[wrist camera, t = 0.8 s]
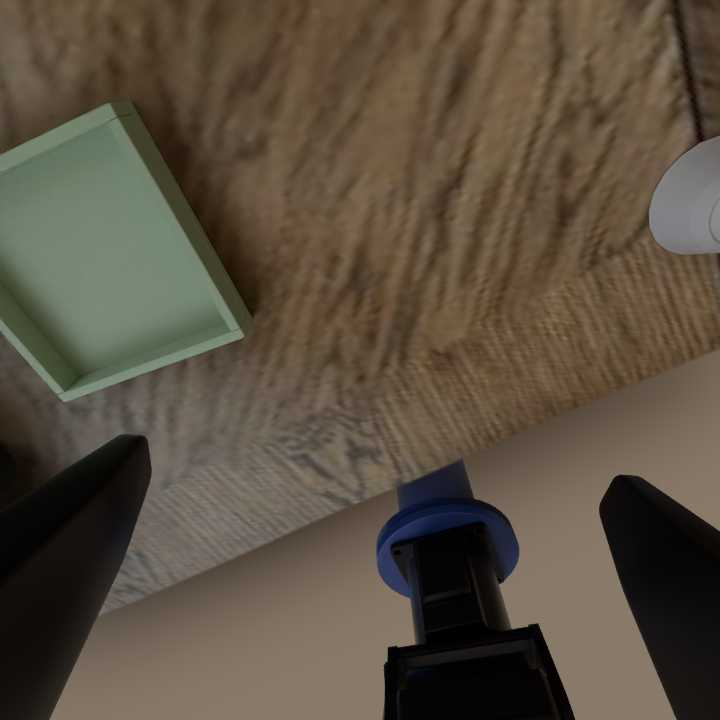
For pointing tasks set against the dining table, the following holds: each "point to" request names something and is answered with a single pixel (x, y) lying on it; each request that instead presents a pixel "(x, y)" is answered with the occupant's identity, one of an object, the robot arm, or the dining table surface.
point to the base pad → (105, 257)
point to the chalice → (689, 202)
